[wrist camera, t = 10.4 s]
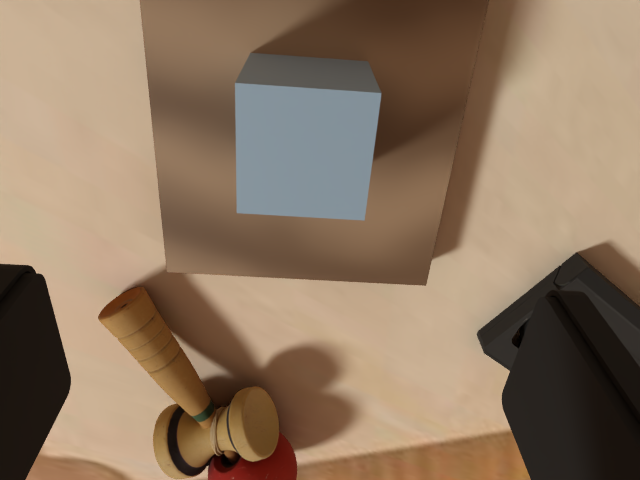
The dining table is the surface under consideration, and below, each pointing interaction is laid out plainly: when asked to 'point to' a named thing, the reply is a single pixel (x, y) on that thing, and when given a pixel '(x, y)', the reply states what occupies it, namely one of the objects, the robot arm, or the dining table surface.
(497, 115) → the dining table surface
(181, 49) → the board
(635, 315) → the vhs tape
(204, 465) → the kendama
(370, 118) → the cube
